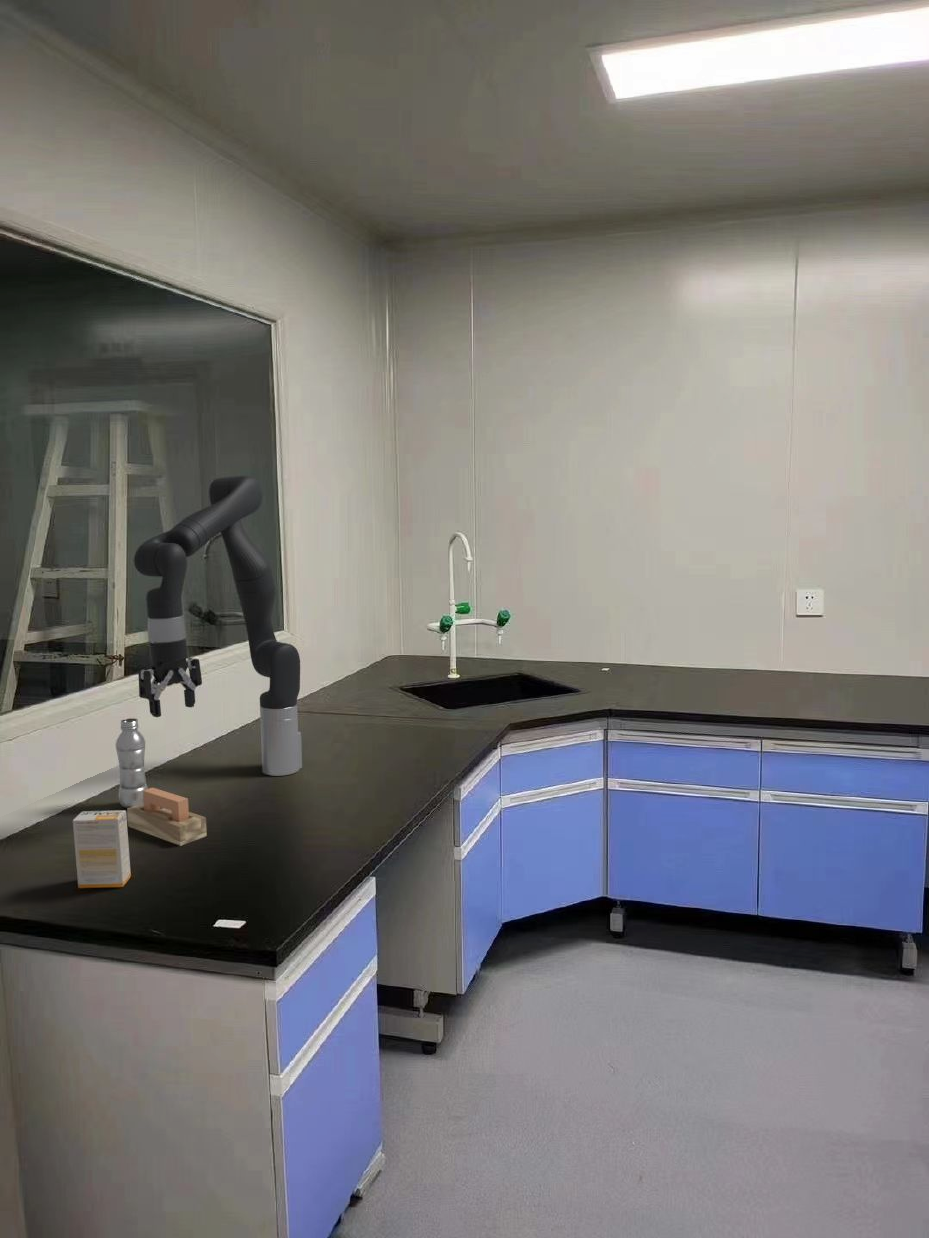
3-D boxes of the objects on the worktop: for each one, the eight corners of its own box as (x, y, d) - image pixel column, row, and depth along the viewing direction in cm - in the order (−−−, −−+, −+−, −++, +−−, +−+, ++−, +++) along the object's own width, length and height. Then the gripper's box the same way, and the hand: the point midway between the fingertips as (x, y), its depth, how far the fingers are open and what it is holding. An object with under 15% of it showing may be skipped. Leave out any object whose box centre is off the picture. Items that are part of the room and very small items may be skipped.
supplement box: (131, 876, 167) (127, 809, 165) (123, 888, 162) (118, 818, 160) (86, 877, 167) (82, 809, 165) (76, 888, 162) (71, 819, 160)
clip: (154, 819, 193) (152, 787, 192) (189, 831, 186) (187, 798, 185) (144, 822, 191) (142, 790, 190) (179, 835, 184) (178, 801, 183)
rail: (154, 817, 197) (153, 799, 196) (206, 835, 186) (205, 817, 186) (128, 826, 192) (127, 808, 191) (180, 845, 181) (179, 826, 181)
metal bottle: (117, 812, 200) (112, 725, 197) (120, 802, 206) (115, 717, 203) (148, 809, 202) (143, 723, 199) (150, 799, 208) (145, 715, 205)
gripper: (183, 630, 197) (189, 701, 200) (126, 641, 186) (133, 717, 188) (205, 633, 193) (211, 706, 196) (149, 645, 181) (156, 722, 184)
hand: (173, 711), depth 192 cm, fingers open, 8 cm apart
